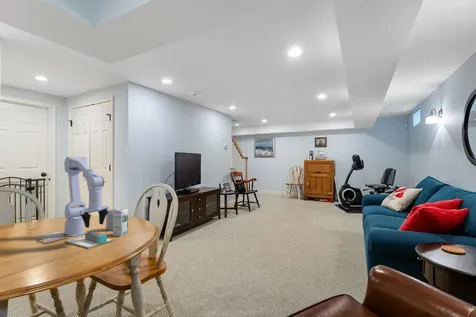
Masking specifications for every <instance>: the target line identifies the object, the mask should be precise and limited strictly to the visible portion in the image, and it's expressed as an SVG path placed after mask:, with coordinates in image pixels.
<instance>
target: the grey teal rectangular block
mask: <svg viewBox="0 0 476 317" xmlns="http://www.w3.org/2000/svg"><path fill="white" fill-rule="evenodd" d="M84 236H85V240H88V241H92V242H96V243H99V244H101V243H104V242H107V238H108V234H105V233H99V232H95V231H89V232H86V233H85V234H84Z"/></svg>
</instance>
